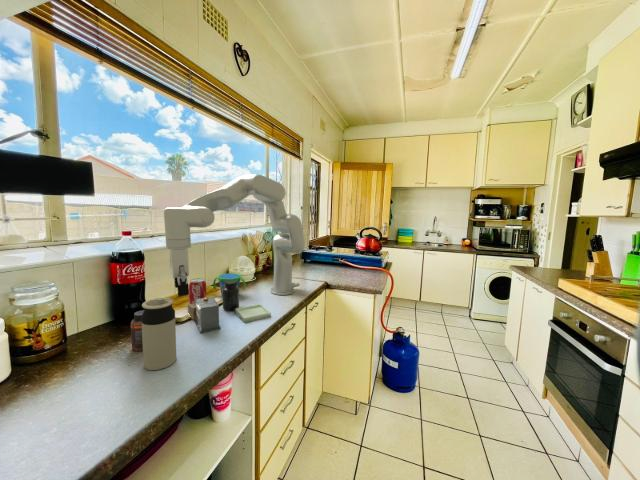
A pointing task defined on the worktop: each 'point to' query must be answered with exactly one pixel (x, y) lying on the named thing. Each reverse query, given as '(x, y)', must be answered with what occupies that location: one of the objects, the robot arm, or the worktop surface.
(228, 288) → the supplement bottle
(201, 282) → the soda can
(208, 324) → the control box
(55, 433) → the worktop surface
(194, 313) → the walnut block
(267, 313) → the tray
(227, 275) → the snack cup
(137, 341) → the supplement bottle
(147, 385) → the worktop surface
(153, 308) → the travel mug
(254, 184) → the robot arm
